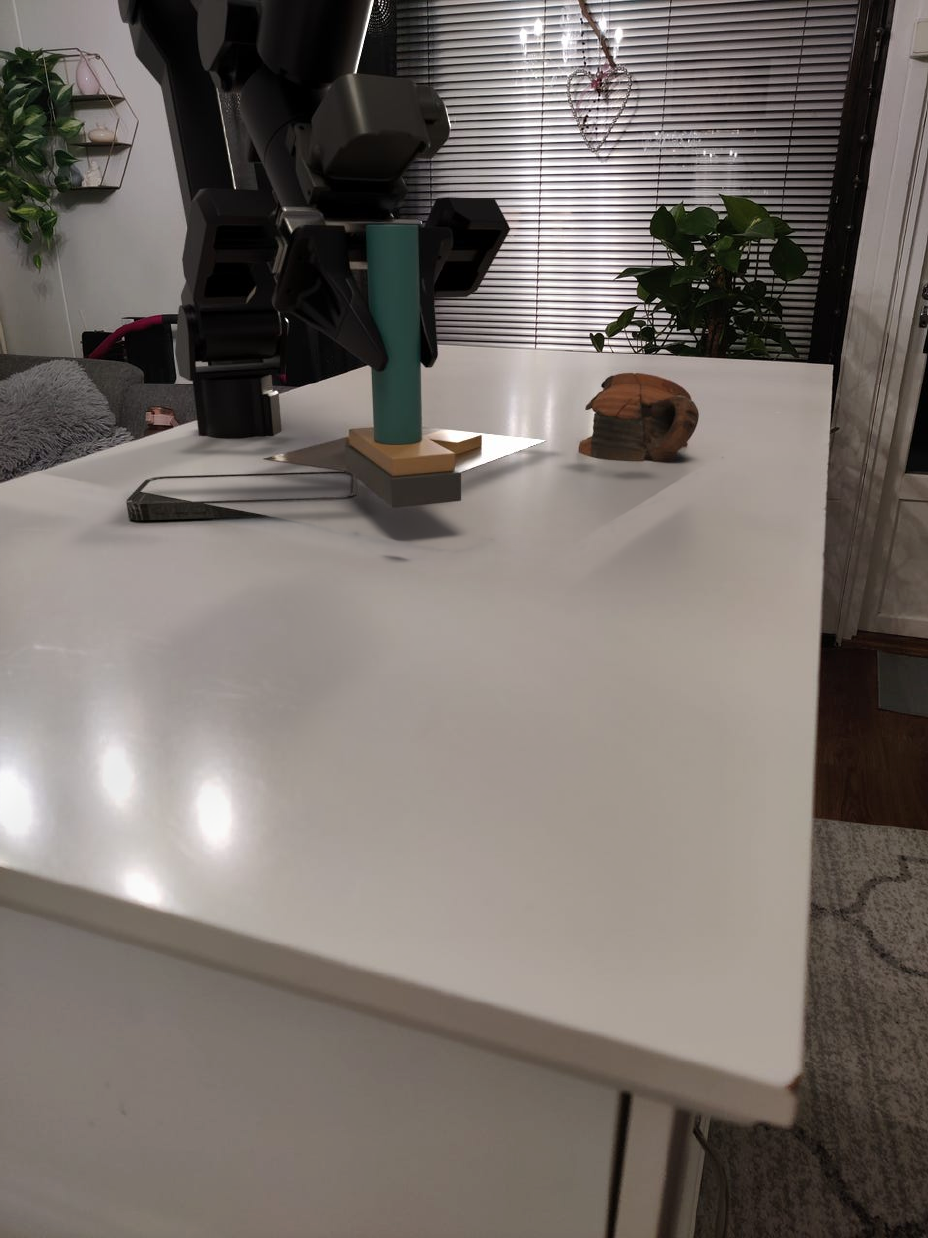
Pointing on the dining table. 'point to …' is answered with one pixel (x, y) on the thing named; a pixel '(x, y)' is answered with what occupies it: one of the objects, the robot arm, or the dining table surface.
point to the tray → (491, 449)
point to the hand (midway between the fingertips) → (408, 364)
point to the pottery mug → (640, 419)
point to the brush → (399, 384)
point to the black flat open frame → (201, 502)
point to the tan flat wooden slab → (456, 440)
